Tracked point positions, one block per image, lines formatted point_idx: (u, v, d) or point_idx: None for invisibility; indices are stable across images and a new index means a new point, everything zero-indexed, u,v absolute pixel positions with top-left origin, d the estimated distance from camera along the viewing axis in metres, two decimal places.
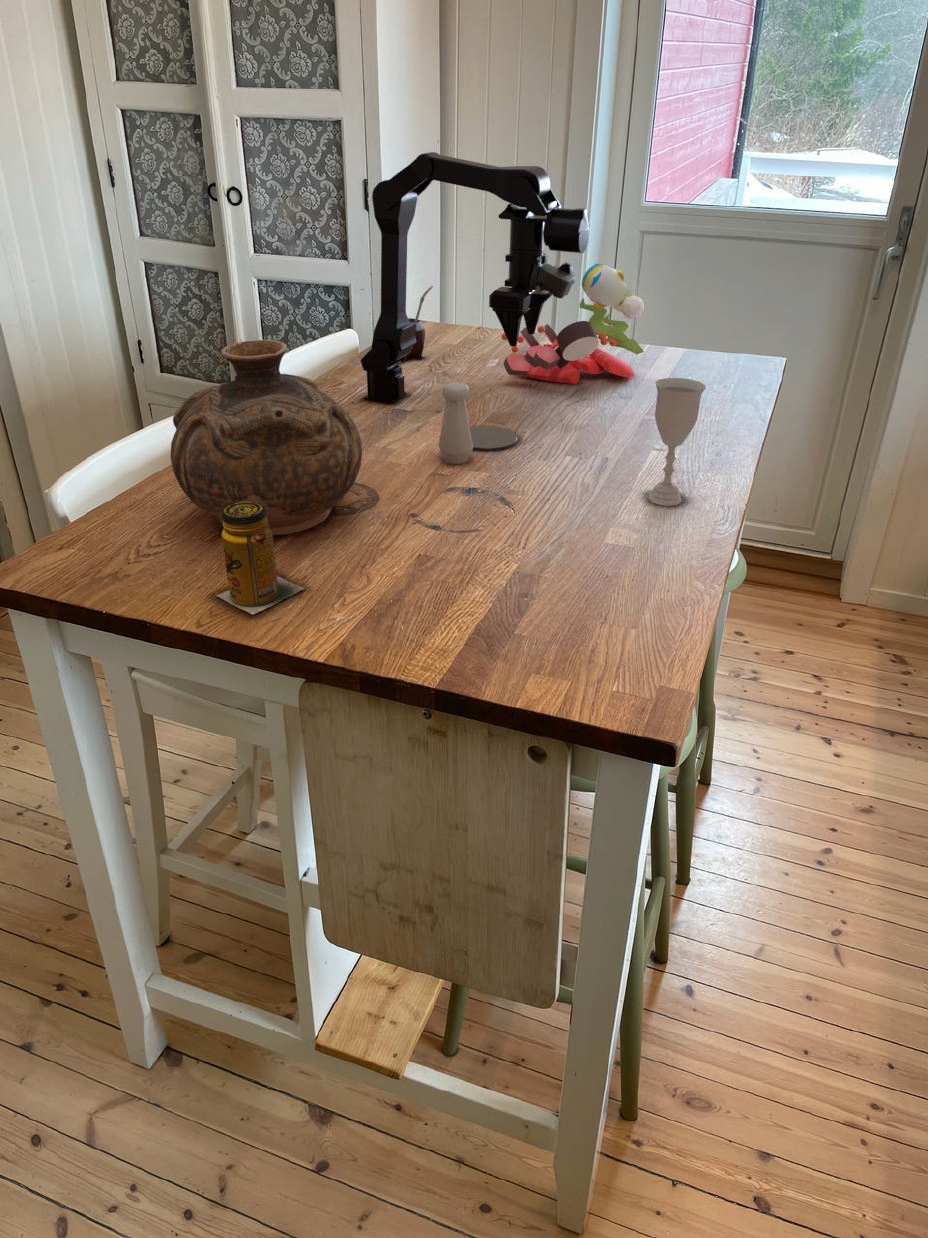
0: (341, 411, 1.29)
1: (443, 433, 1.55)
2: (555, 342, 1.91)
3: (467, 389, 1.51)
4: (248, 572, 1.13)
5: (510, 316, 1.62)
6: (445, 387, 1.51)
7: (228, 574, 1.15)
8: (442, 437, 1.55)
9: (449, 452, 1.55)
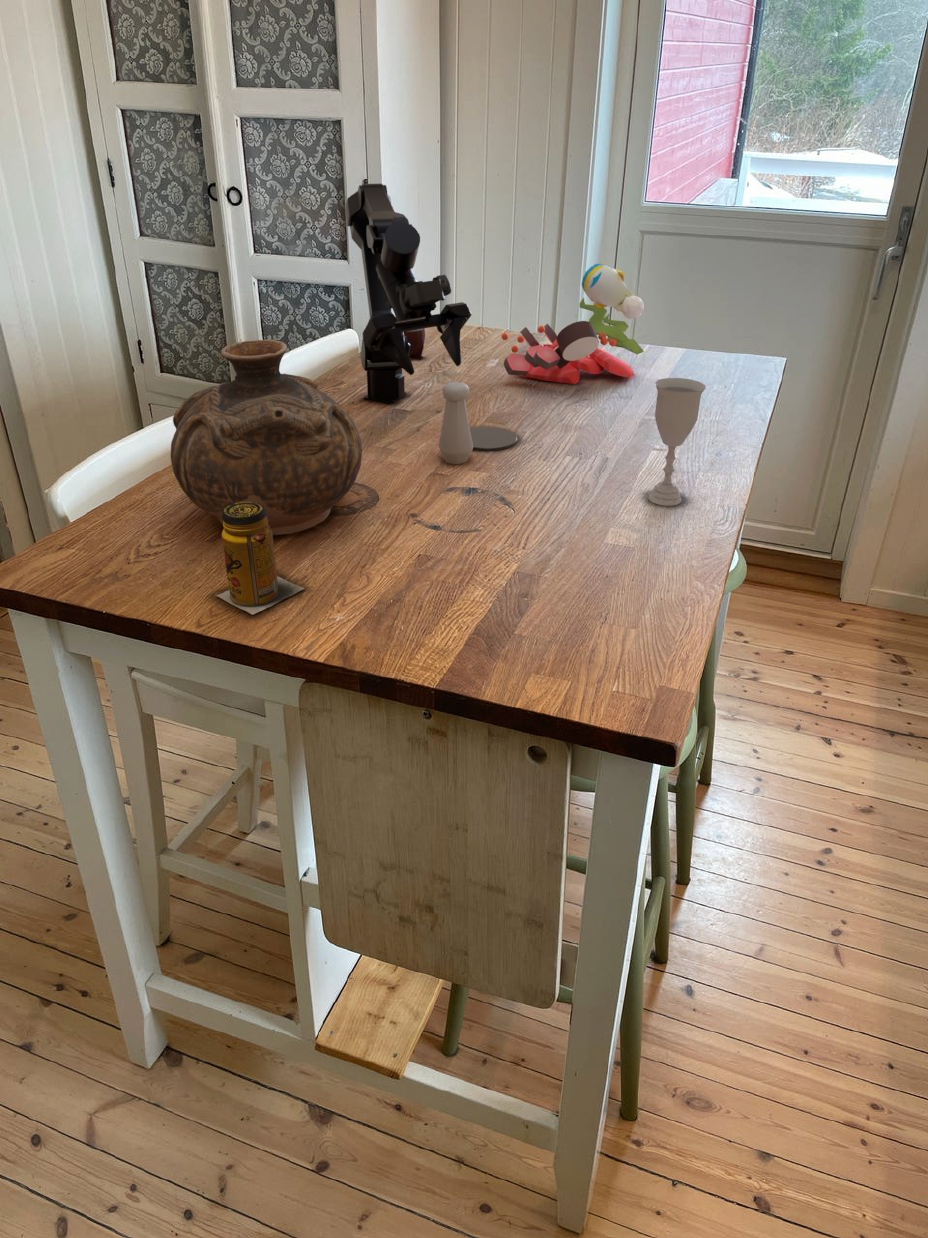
0: (341, 411, 1.29)
1: (443, 433, 1.55)
2: (555, 342, 1.91)
3: (467, 389, 1.51)
4: (248, 572, 1.13)
5: (394, 346, 1.55)
6: (445, 387, 1.51)
7: (228, 574, 1.15)
8: (442, 437, 1.55)
9: (449, 452, 1.55)
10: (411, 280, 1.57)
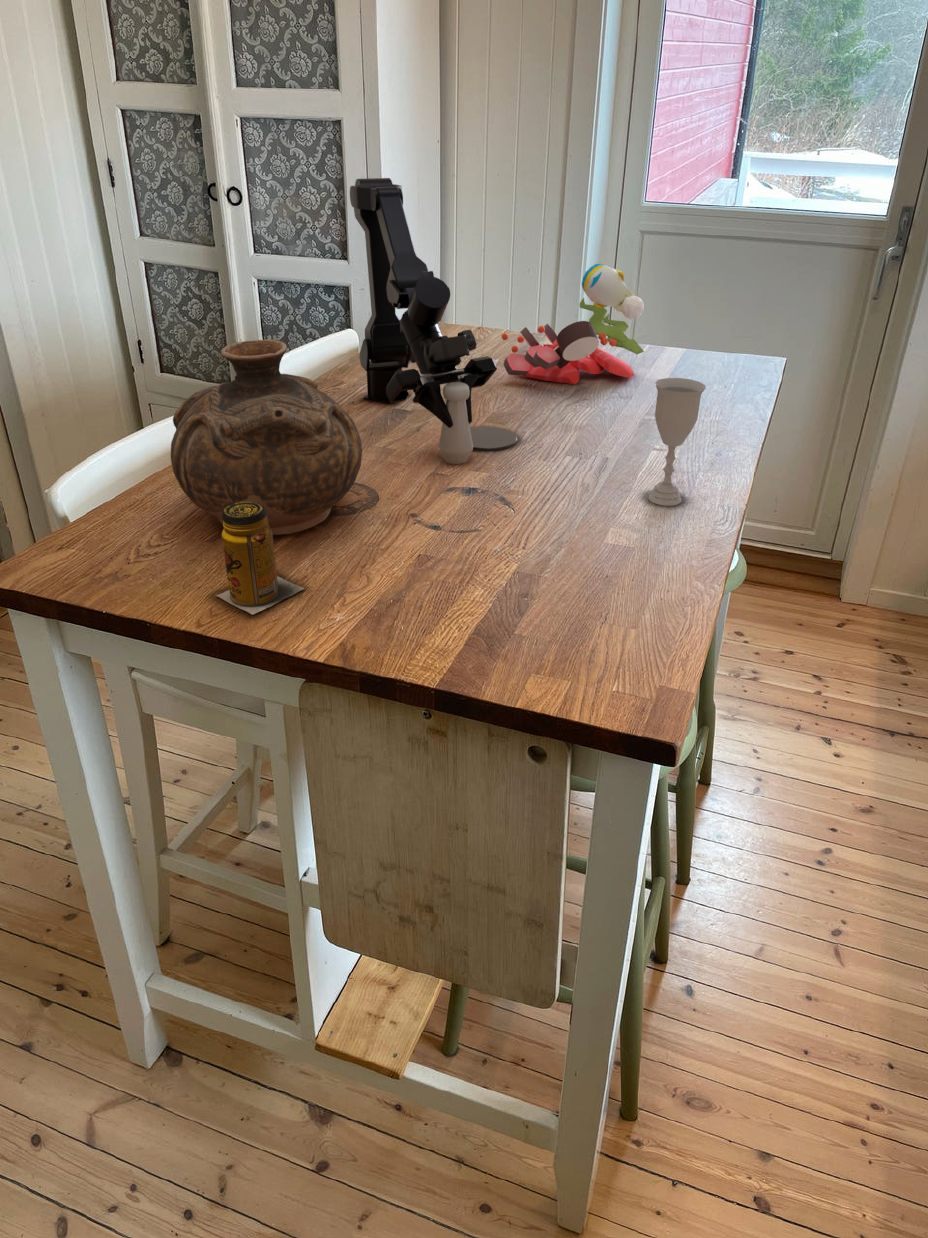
0: (341, 411, 1.29)
1: (443, 433, 1.55)
2: (555, 342, 1.91)
3: (467, 389, 1.51)
4: (248, 572, 1.13)
5: (432, 399, 1.54)
6: (445, 387, 1.51)
7: (228, 574, 1.15)
8: (442, 437, 1.55)
9: (449, 452, 1.55)
10: (436, 335, 1.54)
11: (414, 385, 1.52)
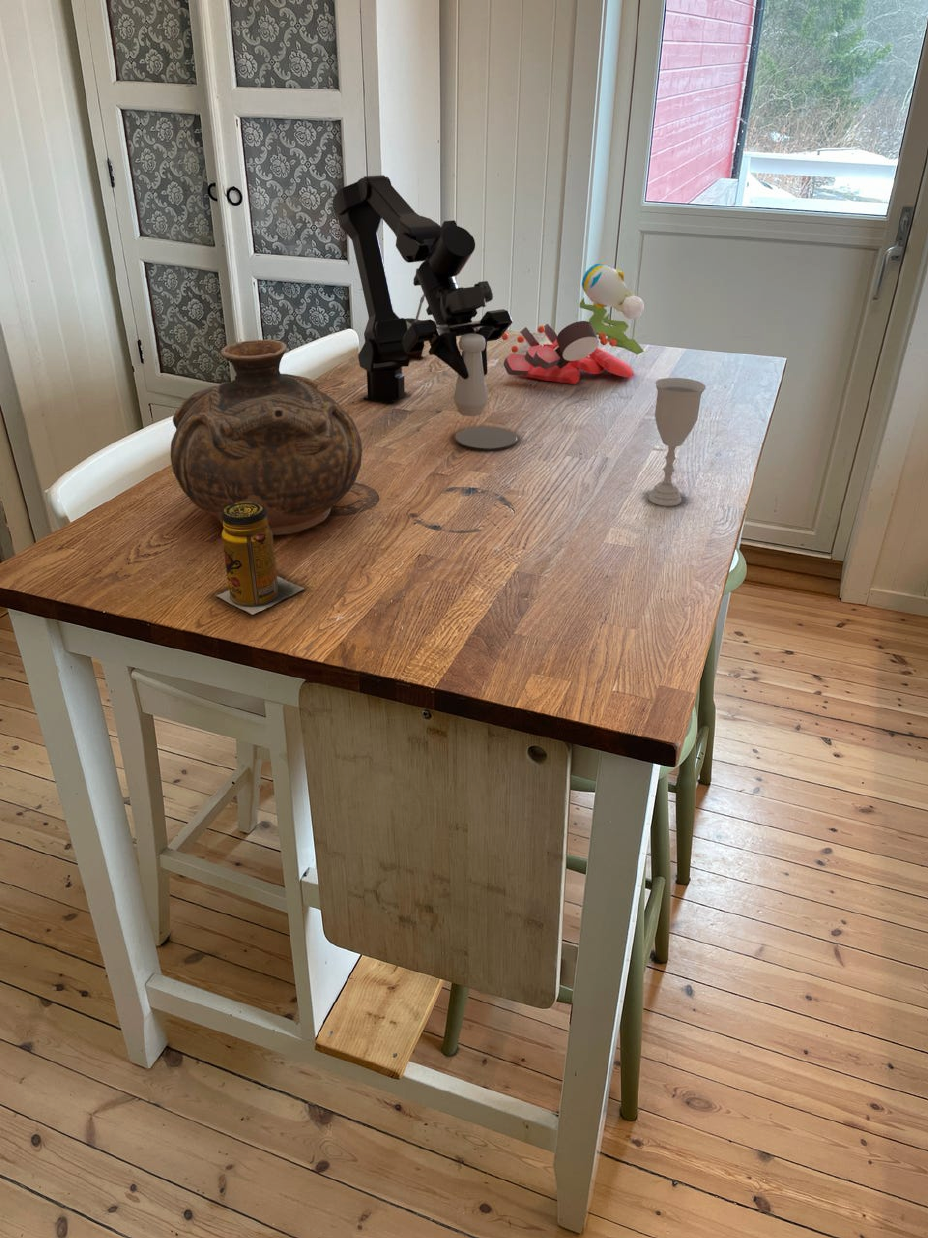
0: (341, 411, 1.29)
1: (459, 385, 1.56)
2: (555, 342, 1.91)
3: (483, 340, 1.52)
4: (248, 572, 1.13)
5: (448, 351, 1.55)
6: (461, 338, 1.52)
7: (228, 574, 1.15)
8: (457, 389, 1.56)
9: (464, 404, 1.56)
10: (452, 286, 1.55)
11: (430, 336, 1.53)
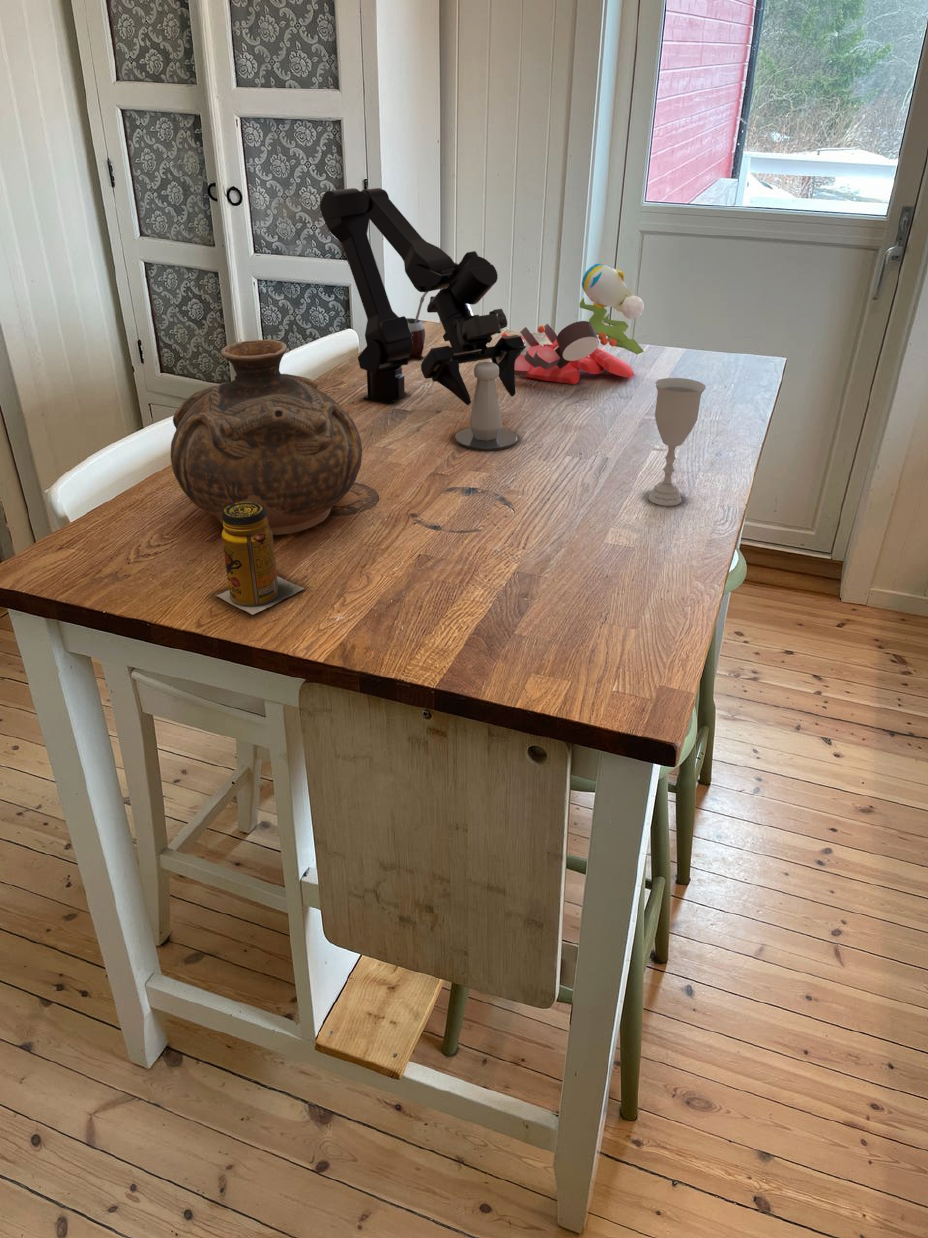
0: (341, 411, 1.29)
1: (474, 411, 1.63)
2: (555, 342, 1.91)
3: (497, 368, 1.60)
4: (248, 572, 1.13)
5: (451, 378, 1.60)
6: (476, 366, 1.60)
7: (228, 574, 1.15)
8: (473, 414, 1.63)
9: (479, 429, 1.63)
10: (468, 314, 1.62)
11: None
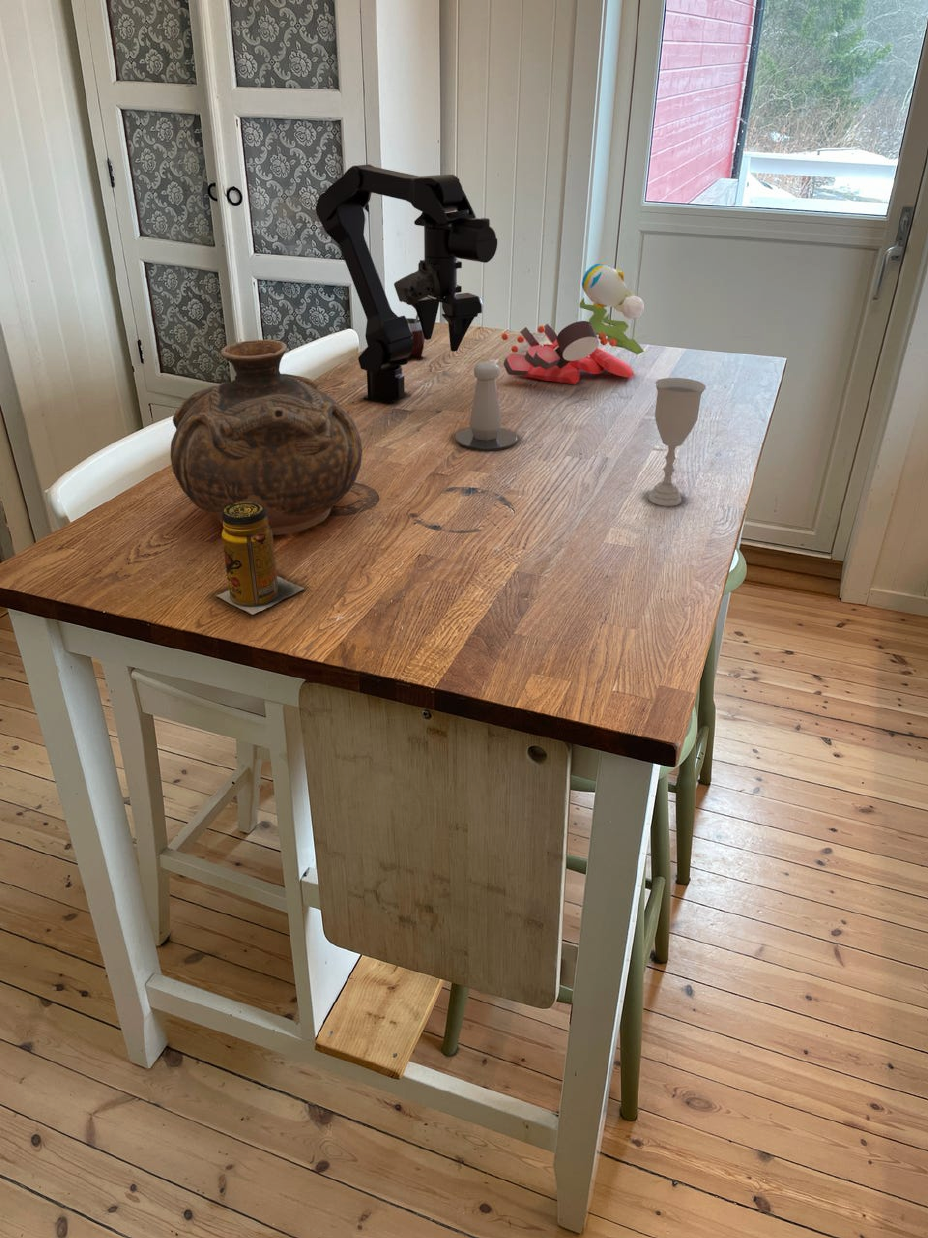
0: (341, 411, 1.29)
1: (474, 411, 1.63)
2: (555, 342, 1.91)
3: (497, 368, 1.60)
4: (248, 572, 1.13)
5: None
6: (476, 366, 1.60)
7: (228, 574, 1.15)
8: (473, 414, 1.63)
9: (479, 429, 1.63)
10: (428, 260, 1.62)
11: None
